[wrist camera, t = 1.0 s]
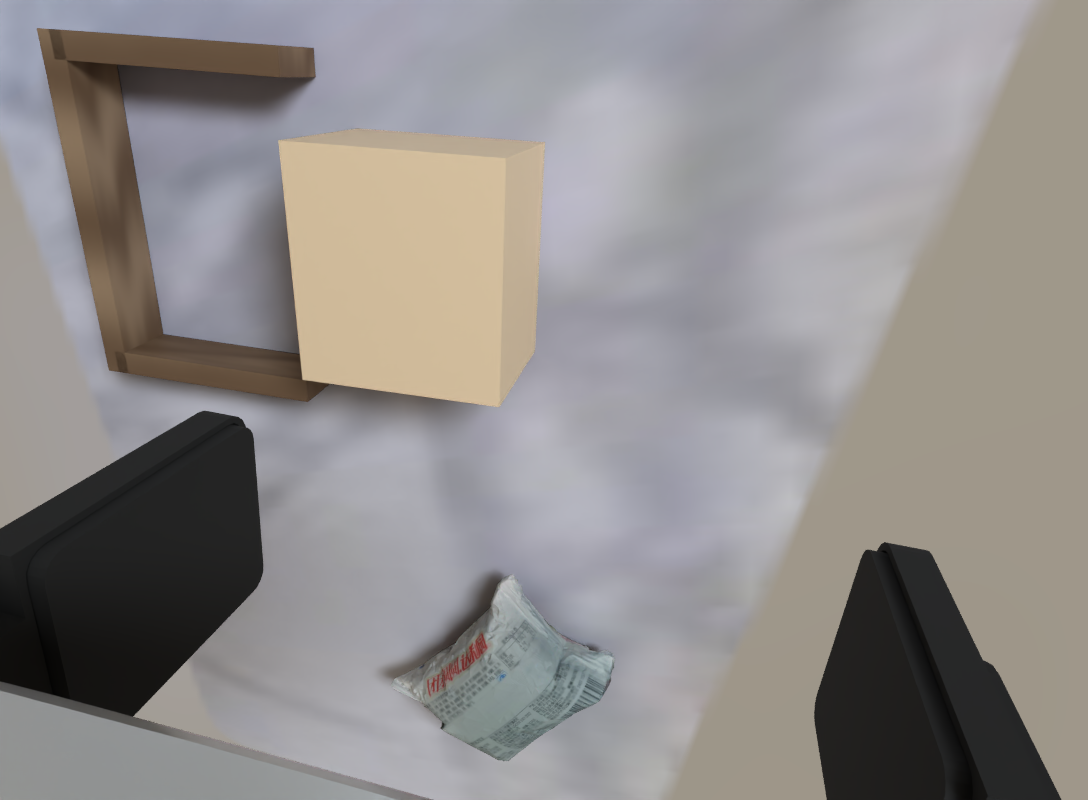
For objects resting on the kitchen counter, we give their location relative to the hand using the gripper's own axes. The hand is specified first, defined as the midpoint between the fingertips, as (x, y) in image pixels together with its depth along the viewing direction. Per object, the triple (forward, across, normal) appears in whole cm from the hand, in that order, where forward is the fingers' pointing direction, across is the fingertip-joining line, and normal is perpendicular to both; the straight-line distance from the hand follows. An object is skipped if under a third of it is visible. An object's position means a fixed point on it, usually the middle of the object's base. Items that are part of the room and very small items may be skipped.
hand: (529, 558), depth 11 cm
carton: (+25, +10, +1) cm, 27 cm away
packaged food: (+26, +5, +26) cm, 37 cm away
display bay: (+24, +22, +1) cm, 33 cm away
